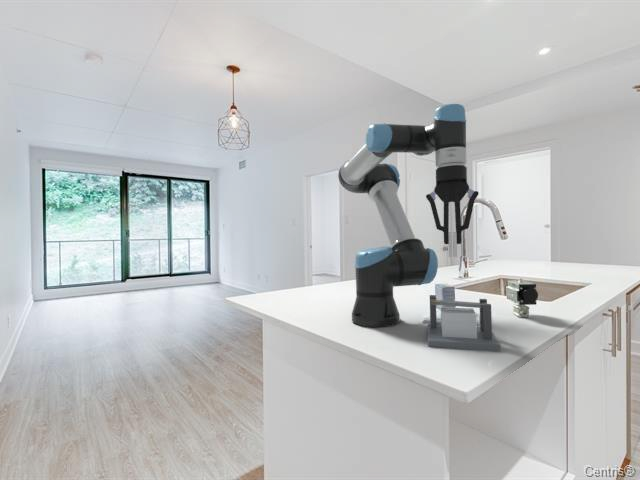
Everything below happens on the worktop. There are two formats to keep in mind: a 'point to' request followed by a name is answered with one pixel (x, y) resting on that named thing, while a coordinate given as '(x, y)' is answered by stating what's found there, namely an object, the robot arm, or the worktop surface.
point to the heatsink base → (462, 341)
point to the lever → (457, 303)
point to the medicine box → (444, 294)
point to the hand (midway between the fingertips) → (452, 256)
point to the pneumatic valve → (521, 296)
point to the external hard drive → (438, 318)
